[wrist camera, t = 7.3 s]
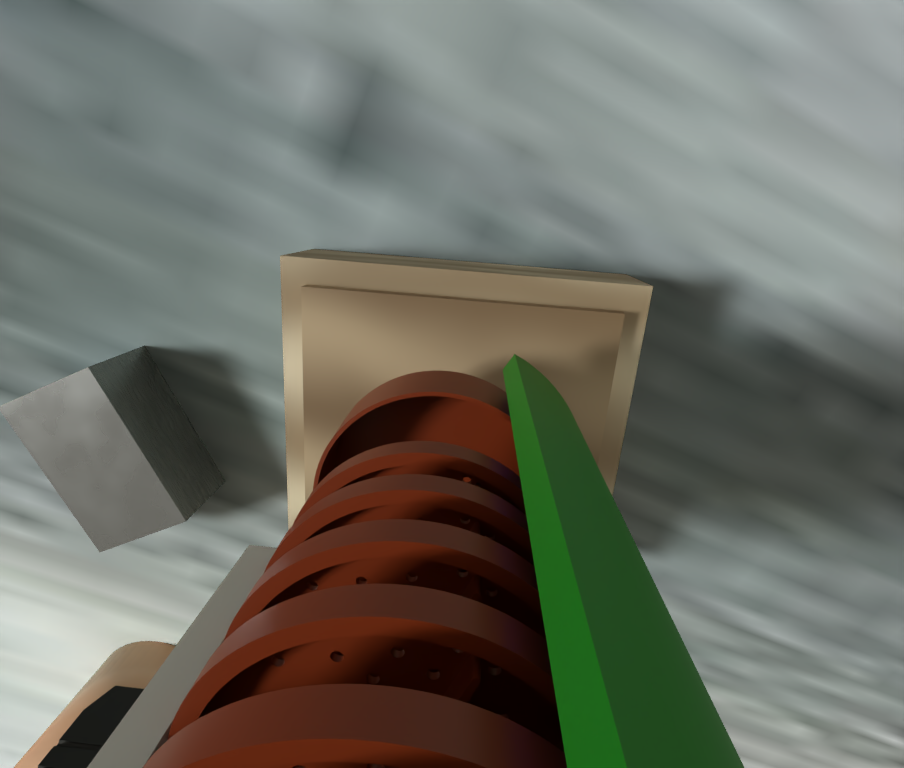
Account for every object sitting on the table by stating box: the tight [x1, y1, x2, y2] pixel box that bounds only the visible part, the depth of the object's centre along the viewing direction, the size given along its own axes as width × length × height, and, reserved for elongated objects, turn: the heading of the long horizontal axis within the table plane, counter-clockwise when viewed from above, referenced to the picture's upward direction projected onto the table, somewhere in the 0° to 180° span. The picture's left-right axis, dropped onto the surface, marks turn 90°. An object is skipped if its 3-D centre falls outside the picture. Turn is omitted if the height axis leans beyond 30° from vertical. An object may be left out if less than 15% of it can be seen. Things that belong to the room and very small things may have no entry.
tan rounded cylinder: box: [14, 641, 175, 768], centre depth 29 cm, size 8×8×7 cm
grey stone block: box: [0, 346, 225, 552], centre depth 25 cm, size 8×5×4 cm, turn 23°
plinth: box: [280, 249, 653, 529], centre depth 23 cm, size 14×14×5 cm
